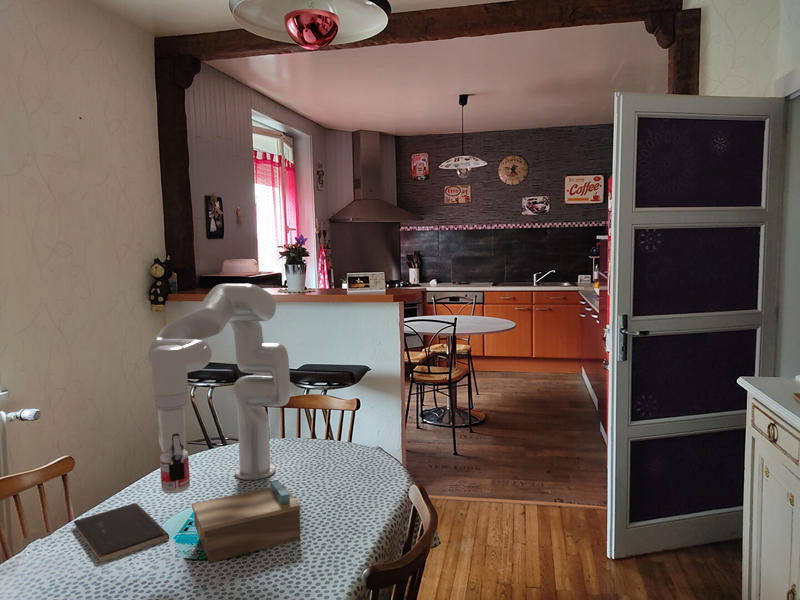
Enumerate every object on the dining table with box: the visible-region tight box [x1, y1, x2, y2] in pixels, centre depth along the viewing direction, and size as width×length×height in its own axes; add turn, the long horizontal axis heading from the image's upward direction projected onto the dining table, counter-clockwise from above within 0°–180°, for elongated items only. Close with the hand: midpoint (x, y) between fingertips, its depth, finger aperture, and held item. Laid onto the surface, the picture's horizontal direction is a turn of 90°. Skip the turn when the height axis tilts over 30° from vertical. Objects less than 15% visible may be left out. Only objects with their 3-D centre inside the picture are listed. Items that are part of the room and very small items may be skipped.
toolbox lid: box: [191, 479, 301, 540], centre depth 143 cm, size 14×23×7 cm, turn 118°
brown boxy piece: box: [198, 508, 301, 564], centre depth 143 cm, size 13×22×8 cm, turn 118°
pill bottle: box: [159, 440, 191, 495], centre depth 134 cm, size 6×6×11 cm
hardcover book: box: [73, 502, 170, 563], centre depth 147 cm, size 16×23×2 cm
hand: (175, 473), depth 134 cm, fingers closed on pill bottle, 6 cm apart
